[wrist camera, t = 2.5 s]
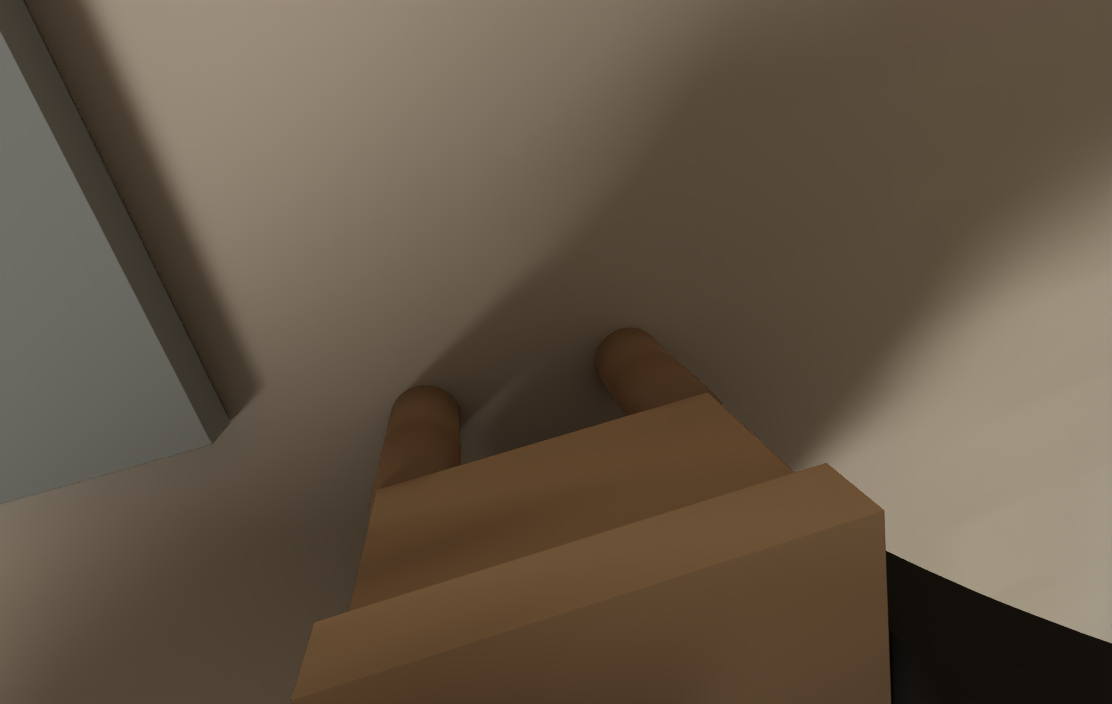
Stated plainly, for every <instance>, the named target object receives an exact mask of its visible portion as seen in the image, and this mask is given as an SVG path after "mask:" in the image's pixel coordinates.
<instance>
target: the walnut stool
mask: <svg viewBox="0 0 1112 704" xmlns="http://www.w3.org/2000/svg"><path fill="white" fill-rule="evenodd" d="M596 369H597V372H598V374H599V376H600V378H601V379H602V381H603V382H604V384H605V385H606V387H607V388H608V390H609V391H610V393H611V394H612V396H613V397H614V399H615V400H616V402H617V403H618V405H619V406H620V408H621V409H622V411H623V412H624V414H625V415H626V417H622V418H619V419H615V420H612V421H609V422H605V423H602V424H598V425H595V426H592V427H588V428H585V429H582V430H578V431H575V432H571V433H568V434H565V435H561V436H558V437H554V438H551V439H548V440H544V441H541V442H537V443H534V444H531V445H527V446H524V447H521V448H517V449H514V450H510V451H507V452H504V453H500V454H497V455H493V456H490V457H487V458H483V459H480V460H476V461H473V462H470V463H466V464H463V465H461V448H460V414H459V409H458V406H457V404H456V402H455V400H454V399H453V398H452V397H451V396H450V395H449V394H448V393H446V392H445V391H443V390H441V389H439V388H436V387H431V386H420V387H415V388H412V389H410V390H408V391H406V392H405V393H403V394H402V395H401V396H400V397H399V398H398V399H397V400H396V402H395V403H394V406H393V408H392V412H391V416H390V420H389V424H388V428H387V432H386V436H385V440H384V445H383V449H382V453H381V457H380V461H379V465H378V469H377V473H376V477H375V482H374V486H373V490H372V494H371V498H370V515H371V517H370V521H369V526H368V530H367V534H366V539H365V543H364V547H363V552H362V556H361V561H360V565H359V569H358V574H357V578H356V582H355V587H354V591H353V595H352V600H351V604H350V608H349V612H345V613H342V614H339V615H336V616H333V617H329V618H326V619H323V620H320V621H316V622H314V625H313V628H312V631H311V635H310V638H309V641H308V645H307V648H306V651H305V655H304V658H303V661H302V665H301V668H300V672H299V675H298V678H297V682H296V685H295V688H294V692H293V695H292V698H291V702H292V704H891V686H890V658H889V630H888V602H887V574H886V546H885V518H884V510H883V509H882V508H881V507H880V506H878V505H877V504H876V503H875V502H873V501H872V500H871V499H870V498H869V497H867V496H866V495H865V494H864V493H863V492H861V491H860V490H859V489H858V488H856V487H855V486H854V485H853V484H852V483H850V482H849V481H848V480H847V479H845V478H844V477H843V476H842V475H841V474H839V473H838V472H837V471H836V470H834V469H833V468H832V467H831V466H830V465H828V464H827V463H825V464H821V465H818V466H815V467H812V468H809V469H805V470H802V471H799V472H796V473H794V472H793V471H792V470H791V469H790V468H789V467H788V466H787V465H786V464H785V463H783V462H782V461H781V460H780V459H779V458H778V457H777V456H776V455H775V454H774V453H773V452H772V451H771V450H769V449H768V448H767V447H766V446H765V445H764V444H763V443H762V442H761V441H760V440H759V439H758V438H756V437H755V436H754V435H753V434H752V433H751V432H750V431H749V430H748V429H747V428H746V427H745V426H743V425H742V424H741V423H740V422H739V421H738V420H737V419H736V418H735V417H734V416H733V415H732V414H731V413H729V412H728V411H727V410H726V409H725V408H724V407H723V405H722V403H721V401H720V400H719V399H718V397H717V396H716V395H715V394H714V393H713V392H711V391H710V390H709V389H708V388H707V387H706V386H705V385H704V384H703V383H702V382H700V381H699V380H698V379H697V378H696V377H695V376H694V375H693V374H692V373H691V372H689V371H688V370H687V369H686V368H685V367H684V366H683V365H682V364H681V363H680V362H678V361H677V360H676V359H675V358H674V357H673V356H672V355H671V354H670V353H669V352H667V351H666V350H665V349H664V348H663V347H662V346H661V345H660V344H659V343H657V342H656V341H655V340H654V339H653V338H652V337H651V336H650V335H649V334H647V333H646V332H644V331H642V330H639V329H635V328H625V329H621V330H618V331H616V332H614V333H612V334H611V335H609V336H608V337H607V338H606V339H605V340H604V341H603V342H602V344H601V345H600V347H599V349H598V351H597V355H596Z"/></svg>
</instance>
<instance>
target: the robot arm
mask: <svg viewBox="0 0 1112 704" xmlns="http://www.w3.org/2000/svg"><path fill="white" fill-rule="evenodd" d="M886 574H887V602H888V630H889V658H890V686H891V704H1112V643H1109V642H1106V641H1103V640H1100V639H1097V638H1094V637H1091V636H1089V635H1086V634H1083V633H1080V632H1078V631H1075V630H1072V629H1070V628H1067V627H1064V626H1062V625H1059V624H1056V623H1054V622H1051V621H1048V620H1046V619H1043V618H1041V617H1038V616H1035V615H1033V614H1030V613H1027V612H1025V611H1022V610H1019V609H1017V608H1014V607H1012V606H1009V605H1007V604H1004V603H1002V602H999V601H997V600H994V599H992V598H990V597H987V596H985V595H982V594H980V593H977V592H975V591H973V590H971V589H968V588H966V587H964V586H962V585H959V584H957V583H955V582H953V581H950V580H948V579H946V578H943V577H941V576H939V575H937V574H934V573H932V572H930V571H928V570H925V569H923V568H921V567H919V566H917V565H915V564H913V563H910V562H908V561H906V560H904V559H902V558H900V557H898V556H896V555H894V554H892V553H889V552H887V551H886Z"/></svg>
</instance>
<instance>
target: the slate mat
mask: <svg viewBox="0 0 1112 704" xmlns="http://www.w3.org/2000/svg"><path fill="white" fill-rule="evenodd" d="M229 423H230V420H229V418H228V416H227V414H226V412H225V410H224V408H223V406H222V404H221V402H220V400H219V398H218V396H217V394H216V392H215V390H214V388H213V386H212V384H211V382H210V380H209V378H208V376H207V374H206V372H205V370H204V368H203V366H202V363H201V361H200V359H199V357H198V355H197V353H196V351H195V349H194V347H193V345H192V343H191V341H190V339H189V337H188V335H187V333H186V331H185V329H184V327H183V325H182V323H181V321H180V319H179V317H178V315H177V313H176V311H175V309H174V307H173V304H172V302H171V300H170V298H169V296H168V294H167V292H166V290H165V288H164V286H163V284H162V282H161V280H160V278H159V276H158V274H157V272H156V270H155V268H154V266H153V264H152V262H151V260H150V258H149V256H148V254H147V252H146V250H145V247H144V245H143V243H142V241H141V239H140V237H139V235H138V233H137V231H136V229H135V227H134V225H133V223H132V221H131V219H130V217H129V215H128V213H127V211H126V209H125V207H124V205H123V203H122V201H121V199H120V197H119V195H118V193H117V191H116V188H115V186H114V184H113V182H112V180H111V178H110V176H109V174H108V172H107V170H106V168H105V166H104V164H103V162H102V160H101V158H100V156H99V154H98V152H97V150H96V148H95V146H94V144H93V142H92V140H91V138H90V136H89V134H88V132H87V129H86V127H85V125H84V123H83V121H82V119H81V117H80V115H79V113H78V111H77V109H76V107H75V105H74V103H73V101H72V99H71V97H70V95H69V93H68V91H67V89H66V87H65V85H64V83H63V81H62V79H61V77H60V75H59V72H58V70H57V68H56V66H55V64H54V62H53V60H52V58H51V56H50V54H49V52H48V50H47V48H46V46H45V44H44V42H43V40H42V38H41V36H40V34H39V32H38V30H37V28H36V26H35V24H34V22H33V20H32V18H31V16H30V13H29V11H28V9H27V7H26V5H25V3H24V1H23V0H0V504H3V503H6V502H10V501H13V500H17V499H20V498H24V497H27V496H31V495H34V494H38V493H42V492H45V491H49V490H52V489H56V488H59V487H63V486H66V485H70V484H73V483H77V482H81V481H84V480H88V479H91V478H95V477H98V476H102V475H105V474H109V473H112V472H116V471H120V470H123V469H127V468H130V467H134V466H137V465H141V464H144V463H148V462H151V461H155V460H159V459H162V458H166V457H169V456H173V455H176V454H180V453H183V452H187V451H190V450H194V449H198V448H201V447H205V446H208V445H212V444H213V443H214V441H215V440H216V439H217V438H218V437H219V435H220V434H221V433H222V432H223V431H224V429H225V428H226V427H227V426H228V425H229Z"/></svg>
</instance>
